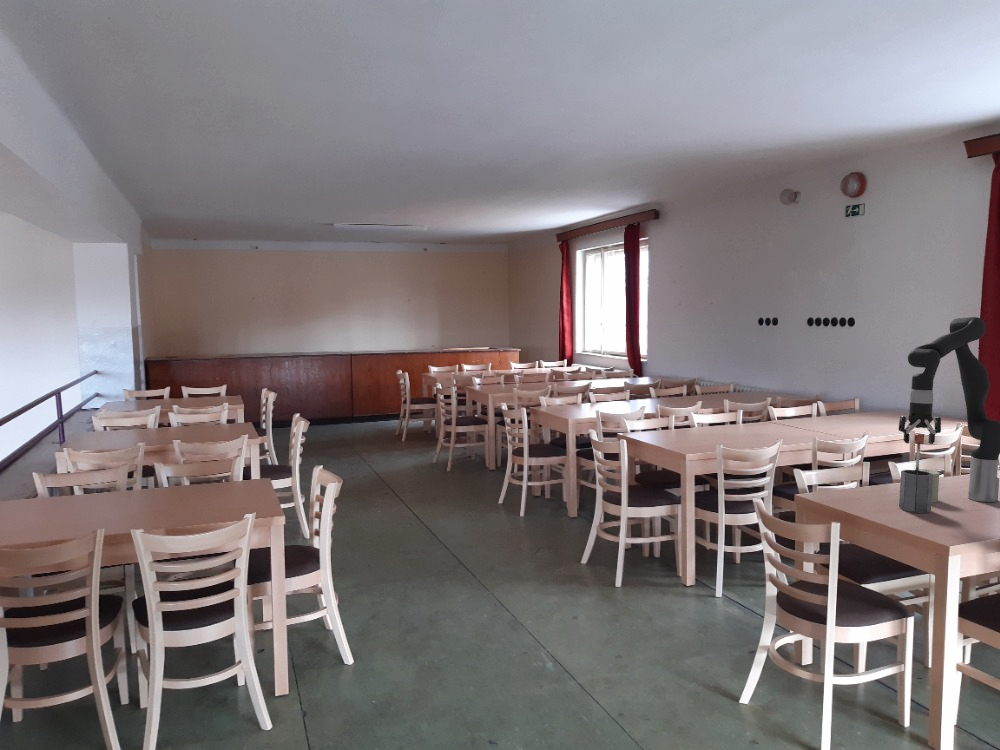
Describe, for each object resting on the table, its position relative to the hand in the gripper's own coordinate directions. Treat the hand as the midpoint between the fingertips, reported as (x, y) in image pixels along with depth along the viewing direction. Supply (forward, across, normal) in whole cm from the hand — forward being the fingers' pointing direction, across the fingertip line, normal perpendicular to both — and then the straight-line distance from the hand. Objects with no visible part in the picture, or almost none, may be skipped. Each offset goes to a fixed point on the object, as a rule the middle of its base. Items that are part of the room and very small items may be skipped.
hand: (918, 443), depth 276 cm
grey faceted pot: (+26, 0, -1) cm, 26 cm away
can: (+26, -11, -17) cm, 33 cm away
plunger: (+17, 0, 0) cm, 17 cm away
